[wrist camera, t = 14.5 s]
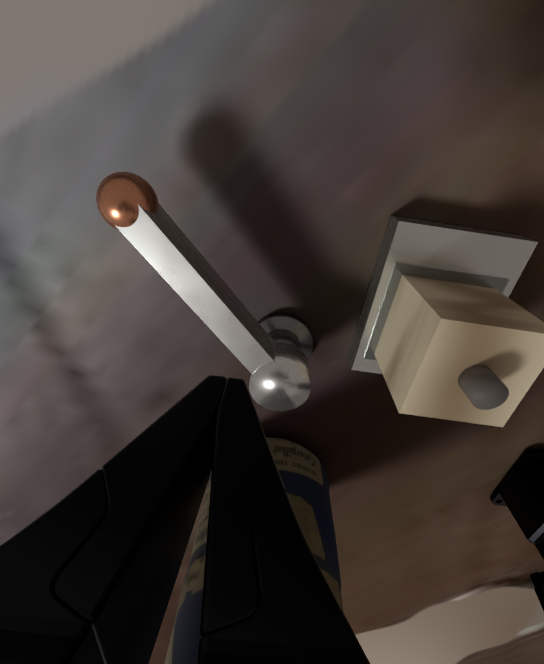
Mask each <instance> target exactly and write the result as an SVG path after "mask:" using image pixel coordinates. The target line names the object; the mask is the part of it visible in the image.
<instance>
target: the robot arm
mask: <svg viewBox="0 0 544 664" xmlns="http://www.w3.org/2000/svg"><path fill="white" fill-rule="evenodd" d="M211 470H212V476H211V489H210V503H209V516H208V529H207V543H206V556H205V570H204V583H203V596H202V610H201V623H200V637H199V650H198V663H197V664H370V663H369V661H368V659H367V657H366V655H365V653H364V651H363V650H362V648H361V646H360V644H359V642H358V640H357V638H356V636H355V634H354V632H353V630H352V628H351V626H350V625H349V623H348V621H347V619H346V617H345V615H344V613H343V611H342V609H341V607H340V605H339V603H338V602H337V600H336V598H335V596H334V594H333V592H332V590H331V588H330V586H329V584H328V582H327V580H326V579H325V577H324V575H323V573H322V571H321V569H320V567H319V565H318V563H317V561H316V559H315V557H314V555H313V553H312V551H311V548H310V546H309V544H308V542H307V540H306V538H305V536H304V534H303V531H302V529H301V526H300V524H299V522H298V519H297V517H296V514H295V512H294V510H293V507H292V504H291V502H290V499H289V496H288V494H287V493H286V489H285V486H284V484H283V481H282V478H281V476H280V473H279V471H278V468H277V465H276V463H275V460H274V457H273V455H272V452H271V449H270V447H269V444H268V442H267V439H266V436H265V434H264V431H263V428H262V426H261V423H260V420H259V418H258V415H257V413H256V410H255V407H254V405H253V402H252V399H251V397H250V394H249V391H248V389H247V386H246V384H245V381H244V380H243V379H238V378H231V377H229V378H227V380H226V378H225V377H223V376H216V375H210V376H208V377H207V378H205V379H204V380H203V381H202V382H201V383H200V384H198V385H197V386H196V387H195V388H194V389H193V390H191V391H190V392H189V393H188V394H187V395H185V396H184V397H183V398H182V399H181V400H180V401H178V402H177V403H176V404H175V405H174V406H173V407H171V408H170V409H169V410H168V411H167V412H166V413H164V414H163V415H162V416H161V417H160V418H158V419H157V420H156V421H155V422H154V423H153V424H151V425H150V426H149V427H148V428H147V429H146V430H144V431H143V432H142V433H141V434H140V435H139V436H137V437H136V438H135V439H134V440H133V441H131V442H130V443H129V444H128V445H127V446H126V447H124V448H123V449H122V450H121V451H120V452H119V453H117V454H116V455H115V456H114V457H113V458H112V459H110V460H109V461H108V462H107V463H106V464H105V465H103V466H102V470H100V469H99V470H97V471H96V472H95V473H94V474H93V475H91V476H90V477H89V478H88V479H87V480H85V481H84V482H83V483H82V484H81V485H79V486H78V487H77V488H76V489H75V490H73V491H72V492H71V493H70V494H68V495H67V496H66V497H65V498H63V499H62V500H61V501H60V502H59V503H57V504H56V505H55V506H54V507H52V508H51V509H50V510H48V511H47V512H46V513H44V514H43V515H42V516H40V517H39V518H38V519H36V520H35V521H34V522H32V523H31V524H30V525H28V526H27V527H25V528H24V529H23V530H21V531H20V532H19V533H17V534H16V535H15V536H13V537H12V538H10V539H9V540H8V541H6V542H5V543H3V544H2V545H1V546H0V664H148V663H149V660H150V657H151V654H152V651H153V648H154V645H155V642H156V639H157V636H158V633H159V630H160V627H161V624H162V621H163V618H164V614H165V611H166V608H167V605H168V602H169V599H170V596H171V593H172V590H173V587H174V584H175V581H176V578H177V575H178V572H179V569H180V566H181V563H182V560H183V556H184V553H185V550H186V547H187V544H188V541H189V538H190V535H191V532H192V529H193V526H194V523H195V520H196V517H197V514H198V511H199V508H200V505H201V502H202V498H203V495H204V492H205V489H206V486H207V483H208V480H209V477H210V474H211ZM490 499H491V501H492V503H493V504H494V505H500V506H507V507H508V508H509V510H510V512H511V513H512V515H513V516H514V518H515V520H516V521H517V523H518V525H519V526H520V528H521V530H522V531H523V533H524V535H525V536H526V538H527V539H528V541H529V542H530V543H534V545H535V546H536V548H537V549H538V551H539V553H540V554H541V556H542V558H543V559H544V450H541V449H528V450H526V451H525V452H524V453H523V454H522V456H521V457H520V458H519V459H518V461H517V462H516V463H515V465H514V466H513V467H512V469H511V470H510V471H509V473H508V474H507V475H506V477H505V478H504V479H503V480H502V482H501V483H500V484H499V486H498V487H497V488H496V490H495V491H494V492H493V494H492V495H491V496H490ZM530 577H531V579H532V582H533V584H534V586H535V588H534V589H535V592H536V594H537V596H538V599H539V601H540V603H541V606H542V608H543V611H544V571H542V572H540V573H538V572H535V573H532V574H530Z"/></svg>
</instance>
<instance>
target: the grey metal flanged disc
mask: <svg viewBox="0 0 544 664" xmlns="http://www.w3.org/2000/svg"><path fill="white" fill-rule="evenodd" d="M258 323H259V324H260V325H261V326H262V327H263V329H264V330H265V331H266V332H267V333H268V335H269V336H270V337H271V338H272V339H273V341H274V342H286V343H290V344H293V345H295V346H297V347H299V348H300V349H301V350H302V351H303V352H304V353H305V355H306V357H307V359H308V358H309V357H310V355H311V353H312V349H313V339H312V333H311V330H310V328H309V327H308V325H307V324H306V323H305V322H304V321H303V320H302V319H300V318H299V317H297V316H295V315H292V314H288V313H275V314H271V315H268V316H266V317H264V318H262V319H261V320H260V321H259V322H258Z"/></svg>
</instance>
